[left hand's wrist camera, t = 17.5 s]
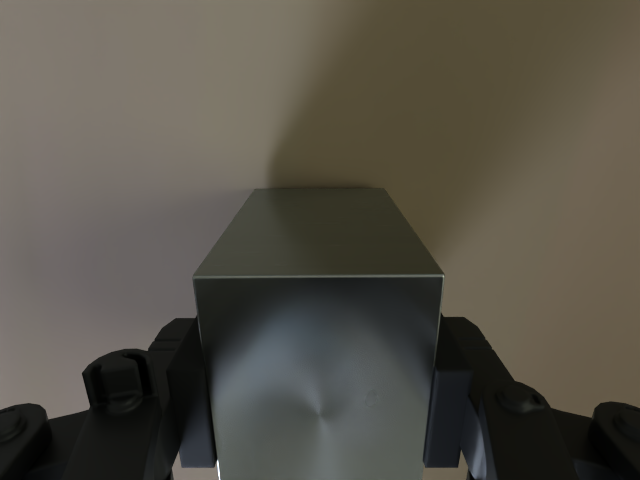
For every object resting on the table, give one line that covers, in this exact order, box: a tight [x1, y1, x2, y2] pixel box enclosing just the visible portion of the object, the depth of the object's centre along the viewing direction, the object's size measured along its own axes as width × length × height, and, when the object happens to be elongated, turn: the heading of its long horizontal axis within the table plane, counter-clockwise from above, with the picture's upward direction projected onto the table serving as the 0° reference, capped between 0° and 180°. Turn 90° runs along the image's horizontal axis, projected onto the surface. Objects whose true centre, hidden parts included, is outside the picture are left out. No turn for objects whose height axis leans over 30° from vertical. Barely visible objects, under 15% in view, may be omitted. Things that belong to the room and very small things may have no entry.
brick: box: [192, 188, 445, 480], centre depth 12 cm, size 7×5×8 cm
